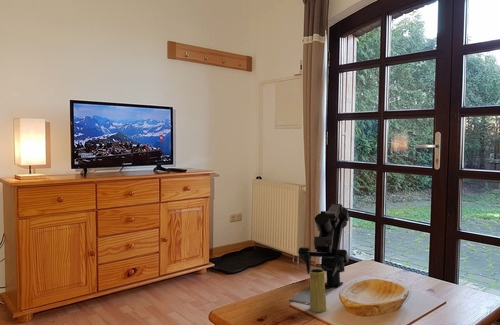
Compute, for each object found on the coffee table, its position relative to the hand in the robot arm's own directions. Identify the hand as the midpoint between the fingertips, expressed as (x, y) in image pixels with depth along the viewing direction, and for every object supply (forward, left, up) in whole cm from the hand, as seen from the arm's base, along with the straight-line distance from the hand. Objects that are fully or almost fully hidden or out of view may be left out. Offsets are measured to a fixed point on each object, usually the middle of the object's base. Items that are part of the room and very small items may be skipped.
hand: (320, 274), depth 149 cm
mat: (-4, -7, -11) cm, 14 cm away
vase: (+5, +1, -12) cm, 13 cm away
